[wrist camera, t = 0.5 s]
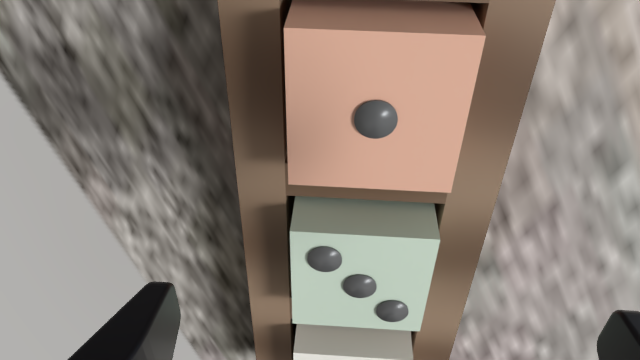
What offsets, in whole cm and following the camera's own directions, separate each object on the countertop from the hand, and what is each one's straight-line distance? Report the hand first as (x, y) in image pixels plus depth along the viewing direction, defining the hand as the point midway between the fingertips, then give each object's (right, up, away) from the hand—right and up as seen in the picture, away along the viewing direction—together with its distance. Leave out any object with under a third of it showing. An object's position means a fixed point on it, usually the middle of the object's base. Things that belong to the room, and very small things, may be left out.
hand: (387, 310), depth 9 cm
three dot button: (0, 0, +11) cm, 11 cm away
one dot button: (+1, +6, +7) cm, 9 cm away
